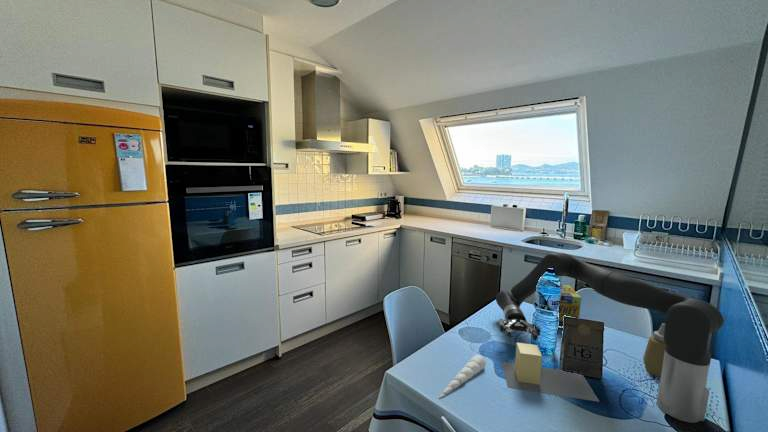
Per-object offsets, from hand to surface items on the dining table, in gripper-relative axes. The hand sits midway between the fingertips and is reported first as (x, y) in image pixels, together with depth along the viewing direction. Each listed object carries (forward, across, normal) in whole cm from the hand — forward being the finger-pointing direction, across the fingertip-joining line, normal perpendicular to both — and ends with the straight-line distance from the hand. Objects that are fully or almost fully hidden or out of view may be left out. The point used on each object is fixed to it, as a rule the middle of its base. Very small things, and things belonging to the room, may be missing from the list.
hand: (522, 336), depth 114 cm
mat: (+11, +6, +9) cm, 15 cm away
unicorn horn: (+17, -21, +10) cm, 29 cm away
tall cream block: (+11, 0, +9) cm, 14 cm away
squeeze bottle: (-3, +45, +9) cm, 46 cm away
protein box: (-36, +24, +9) cm, 44 cm away
